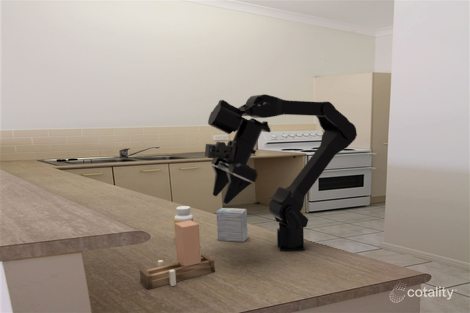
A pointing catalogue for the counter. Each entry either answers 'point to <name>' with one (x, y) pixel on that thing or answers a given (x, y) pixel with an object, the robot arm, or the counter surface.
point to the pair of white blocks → (171, 273)
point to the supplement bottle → (183, 215)
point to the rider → (187, 243)
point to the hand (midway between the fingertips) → (219, 199)
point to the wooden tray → (161, 274)
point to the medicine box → (232, 224)
